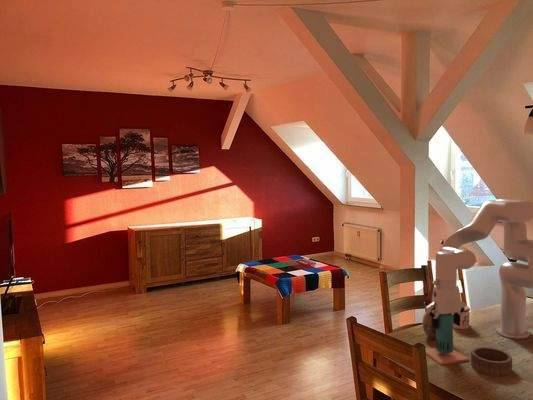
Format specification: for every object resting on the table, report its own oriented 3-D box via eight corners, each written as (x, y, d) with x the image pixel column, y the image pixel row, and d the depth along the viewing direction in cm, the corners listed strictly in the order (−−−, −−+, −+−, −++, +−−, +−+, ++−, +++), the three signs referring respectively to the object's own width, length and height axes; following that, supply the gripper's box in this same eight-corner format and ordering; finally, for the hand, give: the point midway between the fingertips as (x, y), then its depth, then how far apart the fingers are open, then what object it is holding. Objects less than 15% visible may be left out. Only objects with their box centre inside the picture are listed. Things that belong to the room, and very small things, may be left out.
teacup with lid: (465, 331, 193) (466, 305, 192) (445, 326, 199) (445, 301, 198) (474, 323, 201) (475, 299, 200) (454, 319, 208) (455, 295, 207)
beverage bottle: (448, 349, 172) (448, 301, 171) (456, 357, 166) (457, 306, 164) (432, 350, 172) (432, 301, 170) (440, 358, 165) (441, 307, 164)
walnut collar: (492, 357, 166) (493, 345, 166) (519, 373, 154) (520, 360, 153) (463, 362, 163) (463, 349, 163) (488, 378, 151) (489, 364, 150)
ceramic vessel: (437, 346, 178) (437, 286, 176) (415, 340, 184) (416, 283, 182) (451, 334, 190) (452, 278, 188) (430, 329, 196) (431, 275, 194)
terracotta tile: (448, 347, 176) (448, 346, 176) (468, 360, 164) (468, 358, 164) (422, 351, 173) (422, 349, 173) (440, 364, 162) (440, 362, 161)
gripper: (432, 288, 161) (432, 332, 162) (471, 283, 165) (471, 326, 166) (420, 282, 168) (420, 325, 170) (458, 278, 172) (458, 320, 174)
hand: (445, 326), depth 168 cm, fingers open, 9 cm apart
